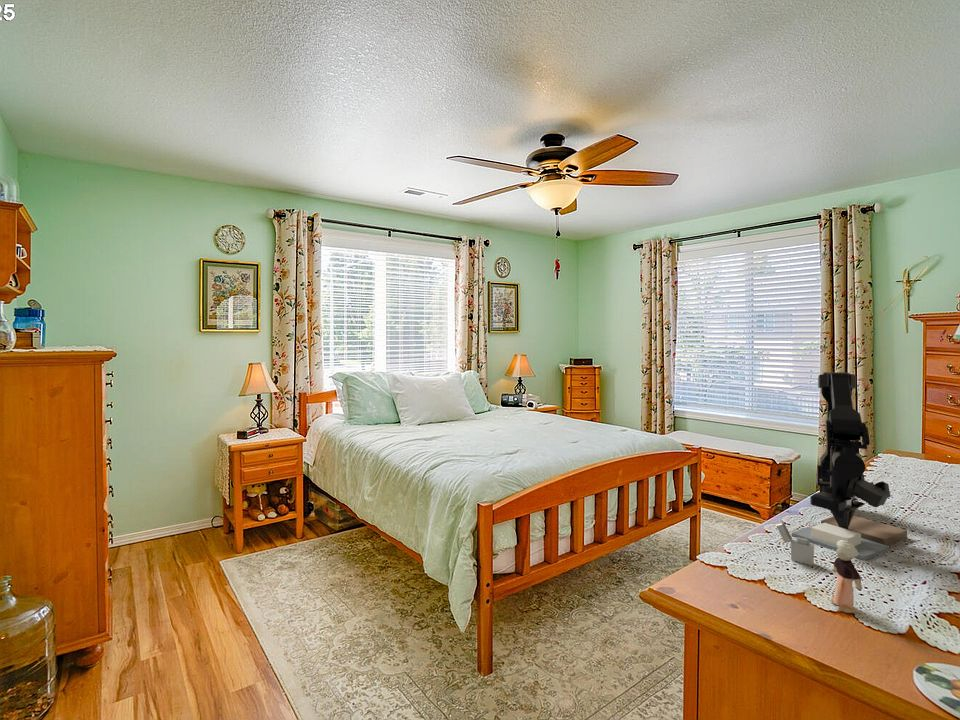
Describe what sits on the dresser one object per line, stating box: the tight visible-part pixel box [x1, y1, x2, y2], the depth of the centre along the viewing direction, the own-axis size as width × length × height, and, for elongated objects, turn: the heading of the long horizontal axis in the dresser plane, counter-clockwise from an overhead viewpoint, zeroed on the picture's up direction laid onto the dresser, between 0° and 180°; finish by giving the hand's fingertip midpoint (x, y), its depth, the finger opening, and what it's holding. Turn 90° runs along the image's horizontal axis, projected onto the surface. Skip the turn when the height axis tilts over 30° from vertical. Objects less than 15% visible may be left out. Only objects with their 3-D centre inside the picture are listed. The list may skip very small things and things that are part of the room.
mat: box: [791, 523, 890, 561], centre depth 120 cm, size 16×11×1 cm
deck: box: [820, 514, 908, 547], centre depth 125 cm, size 14×11×2 cm
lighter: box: [775, 521, 815, 566], centre depth 111 cm, size 7×2×8 cm, turn 47°
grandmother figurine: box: [830, 540, 863, 614], centre depth 92 cm, size 8×4×13 cm, turn 5°
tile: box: [811, 523, 861, 546], centre depth 119 cm, size 8×6×2 cm
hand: (844, 530), depth 121 cm, fingers closed
